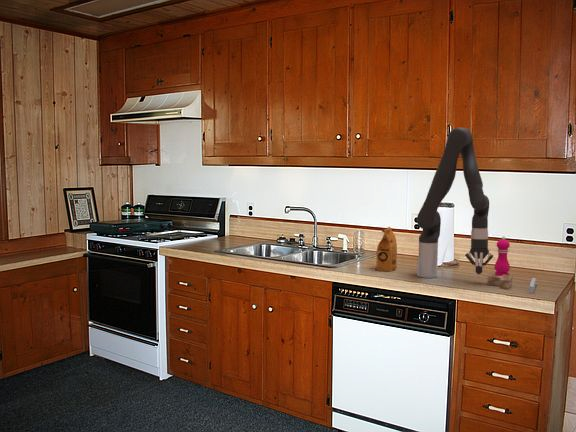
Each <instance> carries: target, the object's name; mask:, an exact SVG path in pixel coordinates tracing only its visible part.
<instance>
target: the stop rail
mask: <svg viewBox="0 0 576 432" xmlns="http://www.w3.org/2000/svg"><path fill="white" fill-rule="evenodd" d="M536 282H537V278H536V277H532V278H531V281H530V284H529V290H528V291H529V292H528V293H529V294H534V291H535V287H536V284H537V283H536Z"/></svg>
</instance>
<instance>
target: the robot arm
mask: <svg viewBox="0 0 576 432" xmlns="http://www.w3.org/2000/svg"><path fill="white" fill-rule="evenodd" d="M473 139H474V138H473V134H472V132H471V130H470V129H469V128H466V127H455V128H453V129H451V131H449V133H448V136H447V139H446V142H445V146H444V151H443V153H442V157H441V159H440V160H439V163H438V166H437V168H436V170H435V173H434V176H433V179H432V180H431V184H430V187H429V189H428V192H427V194H426V197H425V200H424V202H423V204H422V206H421V207H420V210H419V211H418V214H417V217H416V223H417V225H418V227H419V228H420V229H422V231H421V233H420V235H419V236H418V256H417V258H416V261H417V262H416V276H417V277H421V278H425V279H426V278H430V279H431V278H432V279H433V278H434V279H435V278H437V277H438V259H439V257H438V254H439V253H438V252H439V251H438V250H439V238H440V237H441V236H440V234H441V225H442V224H441V223H442V222H441V221H442V220H441V219H442V218H441V215H440V212H439V211H438V209H439V206H440V205H441V203H442V202H443V201H444V198H445V197H446V196H447V194H448V193H449V192H450V190H451V188H452V186H453V183H454V181H455V178H456V175H457V174H456V173H457V166H458V159H459V157H460V156H461V160H462V170H463V171H462V172H463V178H464V180H465V181H464V182H465V185H466V187H467V191H468V192H467V193H468V196H469V197H468V198H469V204H470V205H471V207H472V208H473V216H472V217H471V232H470V239H471V240H470V250H469V252H466V253H465V257H466V259H467V260H468V261H469V262H470V265H474V266H475V273H476V274H477V275H481V274H482V273H483V266H486V265H487V264H488V263H489V262H490V261H491V260H492V259H493V258H494V254H492V253H490V250H489V229H488V226H489V220H488V218H489V211H490V199H489V197H488V196H487V195H485V194H484V193H485V192H484V190H483V186H484V182H483V179H482V177H481V174H480V170H479V167H478V163H477V159H476V158H477V157H476V154H475V153H476V152H475V149H474V140H473ZM472 257H473V258H472ZM486 257H487V259H486V260H485V261H484V259H485V258H486Z"/></svg>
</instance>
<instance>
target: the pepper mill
mask: <svg viewBox="0 0 576 432" xmlns="http://www.w3.org/2000/svg"><path fill="white" fill-rule="evenodd" d="M510 246H511V245H510V241H508V239H506V236H501V239H499V240H498V241H497V242H496V248H497V255H498V256H497V259H496V261H495V263H494V270H495V272H494V275H496V276H503V275H510V274H509V271H510V270H511V266H510V262H509V260H508V253H509V248H510Z"/></svg>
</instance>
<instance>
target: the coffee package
mask: <svg viewBox="0 0 576 432" xmlns="http://www.w3.org/2000/svg"><path fill="white" fill-rule="evenodd" d="M381 232H382V233H384V234H382V238H381V240H380V241H379V242H378V244H377V248H376V267H375V268H376V270H377V271H378V272H379V271H380V272H386V273H389V272H392V271H396V269H397V265H398V264H397V259H398V258H397V255H398V247H397V237H396V235H395V233H394V231H393V230H392V228H391V227H390V226H387V228H383V229H382V230H381Z"/></svg>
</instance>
